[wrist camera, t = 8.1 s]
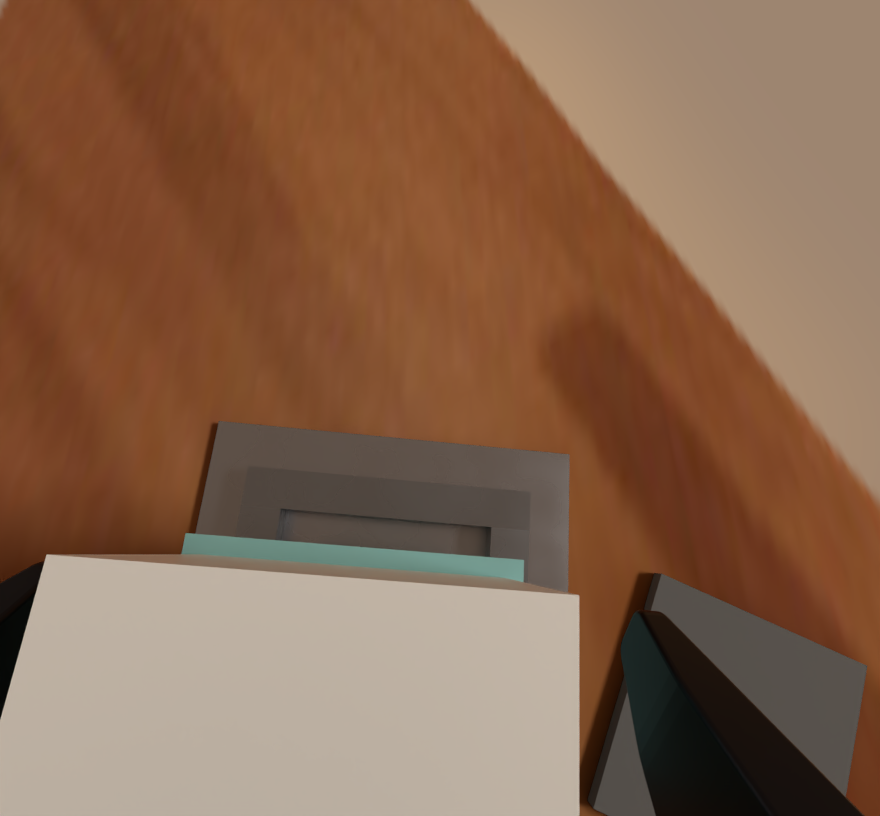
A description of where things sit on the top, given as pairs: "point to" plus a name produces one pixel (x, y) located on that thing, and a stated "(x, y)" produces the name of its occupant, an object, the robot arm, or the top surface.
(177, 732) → the peg
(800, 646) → the pad
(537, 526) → the socket
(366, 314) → the top surface
